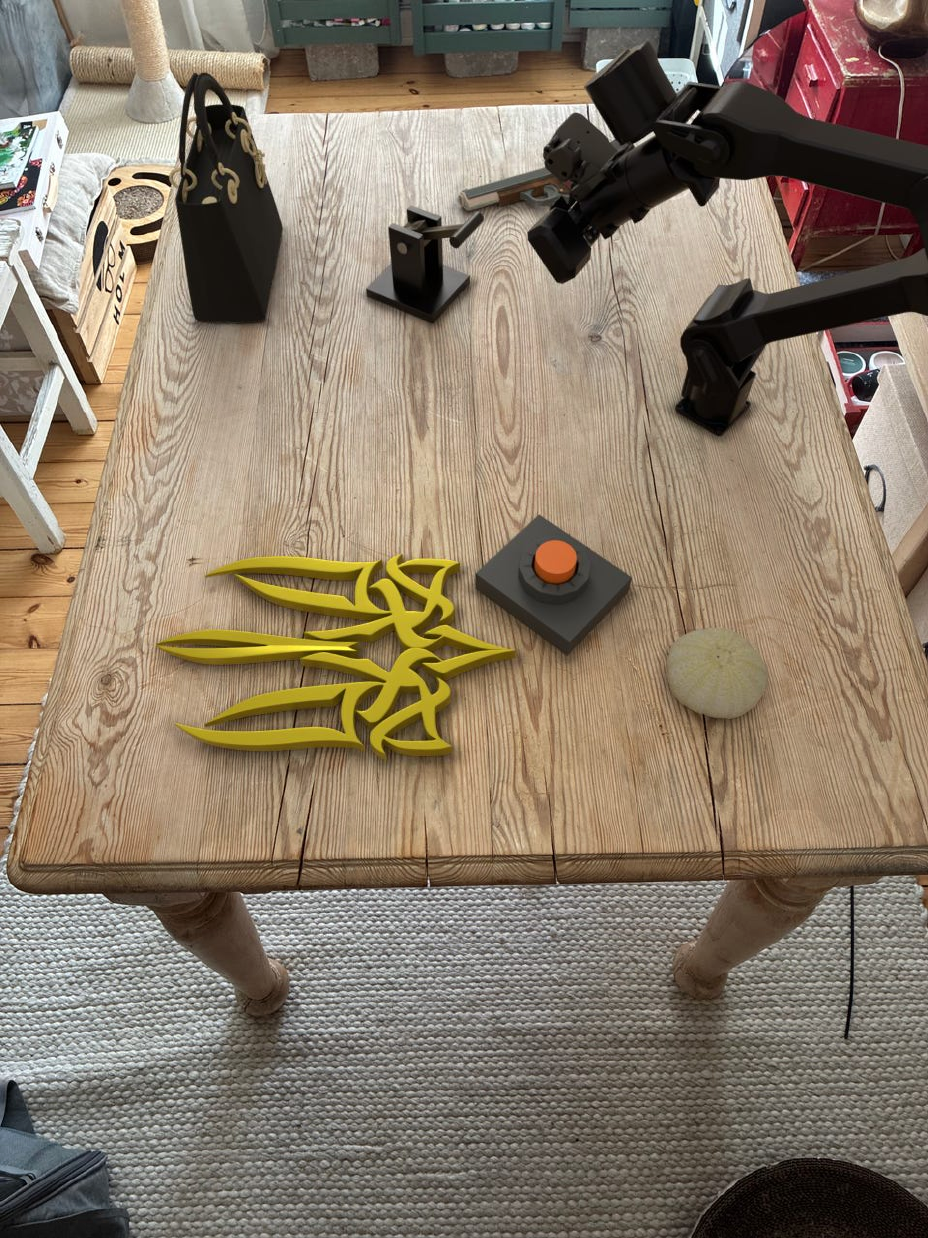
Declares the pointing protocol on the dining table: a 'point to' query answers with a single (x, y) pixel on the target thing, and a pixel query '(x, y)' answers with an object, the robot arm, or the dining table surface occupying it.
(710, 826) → the dining table surface
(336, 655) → the trident
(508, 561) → the button box
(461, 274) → the bracket
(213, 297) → the handbag
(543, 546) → the button
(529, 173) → the handgun
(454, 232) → the lever
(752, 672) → the sea urchin shell
